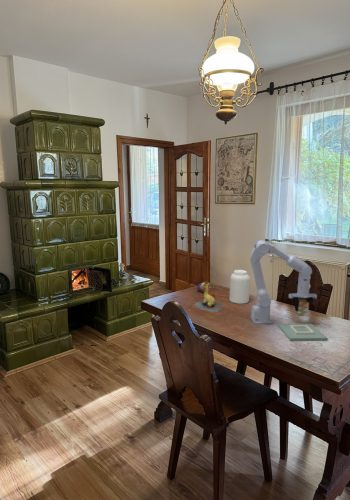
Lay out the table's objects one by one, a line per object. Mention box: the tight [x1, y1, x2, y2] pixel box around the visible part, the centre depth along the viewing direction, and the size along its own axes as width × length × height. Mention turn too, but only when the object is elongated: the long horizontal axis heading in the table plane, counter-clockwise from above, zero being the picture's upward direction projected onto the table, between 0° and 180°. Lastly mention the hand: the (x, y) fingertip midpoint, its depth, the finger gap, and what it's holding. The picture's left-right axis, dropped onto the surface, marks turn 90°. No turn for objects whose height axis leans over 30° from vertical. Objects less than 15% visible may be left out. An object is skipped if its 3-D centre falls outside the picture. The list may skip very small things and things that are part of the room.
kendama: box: [196, 282, 216, 299], centre depth 235 cm, size 6×6×20 cm
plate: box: [277, 323, 329, 342], centre depth 172 cm, size 18×18×2 cm
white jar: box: [228, 269, 251, 304], centre depth 220 cm, size 12×12×20 cm
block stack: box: [294, 299, 310, 317], centre depth 184 cm, size 5×5×8 cm
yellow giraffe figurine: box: [193, 281, 225, 312], centre depth 210 cm, size 16×18×16 cm
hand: (301, 310), depth 184 cm, fingers closed on block stack, 5 cm apart
